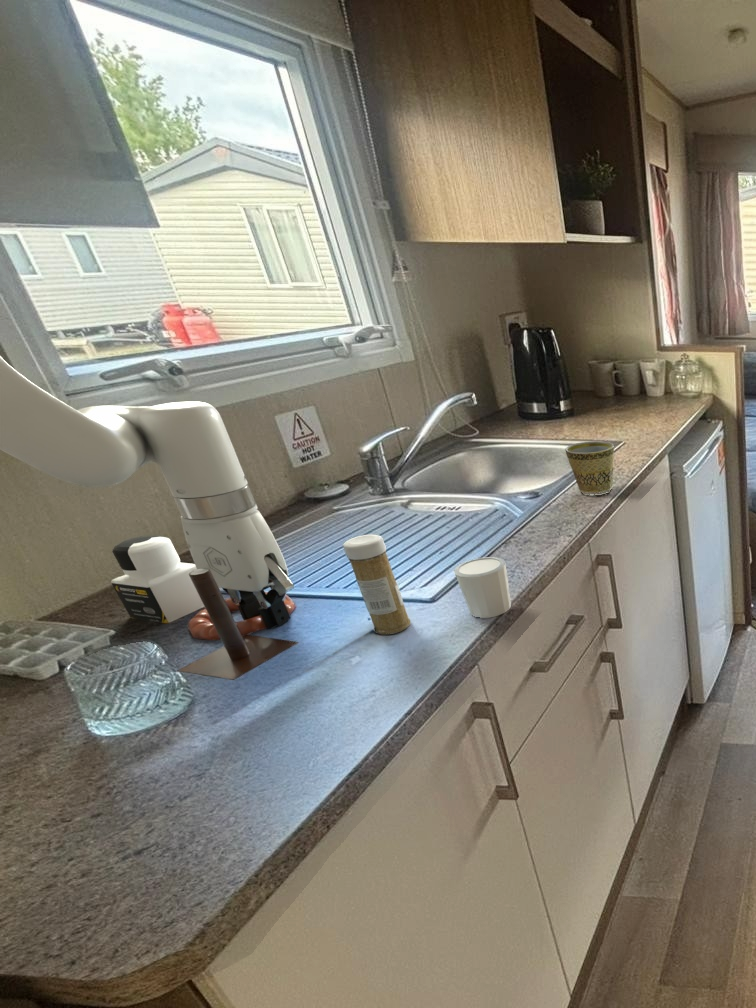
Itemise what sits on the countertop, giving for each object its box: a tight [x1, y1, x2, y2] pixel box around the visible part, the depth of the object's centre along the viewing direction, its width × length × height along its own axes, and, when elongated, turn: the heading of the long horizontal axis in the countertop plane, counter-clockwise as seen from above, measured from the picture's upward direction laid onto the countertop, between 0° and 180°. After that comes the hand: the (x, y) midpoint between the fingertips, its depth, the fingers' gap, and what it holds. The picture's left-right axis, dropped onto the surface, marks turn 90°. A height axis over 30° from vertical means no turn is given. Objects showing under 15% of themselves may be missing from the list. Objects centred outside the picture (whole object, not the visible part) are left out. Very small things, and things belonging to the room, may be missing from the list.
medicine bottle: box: [110, 534, 205, 624], centre depth 93 cm, size 7×7×12 cm
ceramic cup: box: [564, 440, 615, 495], centre depth 144 cm, size 13×10×10 cm
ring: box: [187, 591, 297, 641], centre depth 93 cm, size 12×12×2 cm
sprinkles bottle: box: [342, 534, 411, 636], centre depth 89 cm, size 5×5×13 cm
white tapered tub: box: [453, 556, 512, 619], centre depth 96 cm, size 7×7×7 cm
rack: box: [176, 568, 300, 681], centre depth 82 cm, size 9×9×13 cm
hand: (270, 626), depth 92 cm, fingers closed on ring, 2 cm apart
